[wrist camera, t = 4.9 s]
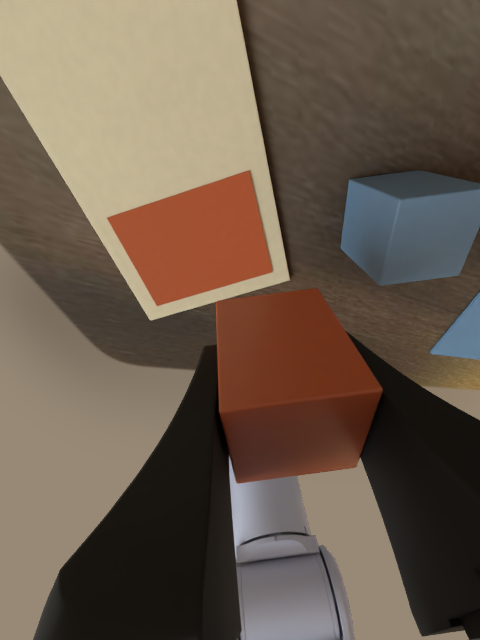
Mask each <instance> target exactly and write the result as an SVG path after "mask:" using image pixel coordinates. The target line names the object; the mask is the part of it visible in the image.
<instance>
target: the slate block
mask: <svg viewBox="0 0 480 640" xmlns="http://www.w3.org/2000/svg"><path fill="white" fill-rule="evenodd" d="M479 227H480V183H475V182H471V181H466V180H462V179H457V178H453V177H448V176H444V175H439V174H435V173H430V172H426V171H421V170H416V171H409V172H401V173H393V174H385V175H377V176H370V177H362V178H354V179H350V180H349V184H348V192H347V200H346V208H345V215H344V223H343V231H342V239H341V247H340V248H341V249H342V250H343V251H344V252H345V253H346V254H347V255H348V256H349V257H350V258H351V259H352V260H353V261H354V262H355V263H356V264H357V265H358V266H359V267H360V268H361V269H362V270H364V271H365V272H366V273H367V274H368V275H369V276H370V277H371V278H372V279H373V280H374V281H375V282H376V283H377V284H378V285H380V286H383V285H390V284H398V283H406V282H413V281H421V280H428V279H436V278H443V277H451V276H458V275H459V274H460V272H461V269H462V267H463V265H464V262H465V260H466V258H467V255H468V253H469V251H470V248H471V246H472V244H473V241H474V239H475V237H476V234H477V232H478V230H479Z"/></svg>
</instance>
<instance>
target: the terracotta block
mask: <svg viewBox="0 0 480 640" xmlns="http://www.w3.org/2000/svg"><path fill="white" fill-rule="evenodd" d="M216 324H217V360H218V395H219V413H220V418H221V422H222V426H223V430H224V435H225V439H226V443H227V447H228V452H229V456H230V460H231V464H232V469H233V473H234V477H235V481H236V483H238V484H240V483H247V482H254V481H261V480H269V479H276V478H283V477H291V476H298V475H305V474H312V473H320V472H327V471H334V470H342V469H349V468H355V467H357V464H358V461H359V458H360V456H361V453H362V450H363V447H364V444H365V441H366V438H367V435H368V433H369V430H370V427H371V424H372V421H373V418H374V415H375V412H376V410H377V407H378V404H379V401H380V398H381V395H382V392H383V390H382V387H381V385H380V384H379V382H378V381H377V379H376V378H375V376H374V375H373V373H372V372H371V370H370V368H369V367H368V365H367V364H366V362H365V361H364V359H363V358H362V356H361V354H360V353H359V351H358V350H357V348H356V347H355V345H354V344H353V342H352V341H351V339H350V337H349V336H348V334H347V333H346V331H345V330H344V328H343V327H342V325H341V324H340V322H339V320H338V319H337V317H336V316H335V314H334V313H333V311H332V310H331V308H330V307H329V305H328V303H327V302H326V300H325V299H324V297H323V296H322V294H321V293H320V291H319V290H318V289H317V288H313V289H305V290H298V291H290V292H282V293H274V294H266V295H258V296H250V297H243V298H235V299H227V300H219V301H217V302H216Z"/></svg>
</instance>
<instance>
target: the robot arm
mask: <svg viewBox="0 0 480 640" xmlns="http://www.w3.org/2000/svg"><path fill="white" fill-rule="evenodd" d="M346 333H347V334H348V336H349V337H350V339H351V341H352V342H353V344H354V345H355V347H356V348H357V350H358V351H359V353H360V354H361V356H362V358H363V359H364V361H365V362H366V364H367V365H368V367H369V368H370V370H371V372H372V373H373V375H374V376H375V378H376V379H377V381H378V382H379V384H380V385H381V387H382V390H383V392H382V395H381V398H380V401H379V404H378V407H377V410H376V412H375V415H374V418H373V421H372V424H371V427H370V430H369V433H368V435H367V438H366V441H365V444H364V447H363V450H362V453H361V456H360V457H361V460H362V462H363V465H364V468H365V471H366V473H367V476H368V479H369V481H370V484H371V487H372V489H373V492H374V495H375V498H376V501H377V503H378V507H379V509H380V512H381V515H382V518H383V521H384V524H385V527H386V530H387V533H388V536H389V539H390V542H391V545H392V548H393V551H394V554H395V558H396V561H397V564H398V568H399V571H400V574H401V577H402V581H403V584H404V587H405V591H406V594H407V598H408V601H409V604H410V608H411V611H412V614H413V616H414V619H415V621H416V624H417V626H418V629H419V631H420V633H421V635H422V636H429V635H435V634H442V633H449V632H456V631H463V630H465V631H466V634H467V636H468V638H469V640H480V420H478V419H476V418H474V417H472V416H471V415H469V414H467V413H465V412H463V411H461V410H460V409H458V408H456V407H454V406H453V405H451V404H449V403H448V402H446V401H444V400H442V399H441V398H439V397H437V396H436V395H434V394H432V393H431V392H429V391H427V390H426V389H424V388H423V387H421V386H420V385H418V384H417V383H415V382H414V381H412V380H411V379H409V378H408V377H406V376H405V375H403V374H402V373H400V372H399V371H397V370H396V369H395V368H393V367H392V366H390V365H389V364H388V363H386V362H385V361H384V360H382V359H381V358H380V357H378V356H377V355H376V354H374V353H373V352H372V351H371V350H369V349H368V348H367V347H365V346H364V345H363V344H362V343H360V342H359V341H358V340H357V339H355V338H354V337H353V336H352V335H350V334H349V333H348V332H346ZM33 640H355V637H354V629H353V621H352V615H351V610H350V606H349V601H348V597H347V594H346V590H345V586H344V583H343V579H342V576H341V573H340V570H339V568H338V565H337V563H336V561H335V558H334V557H333V555H332V554H331V552H329V551H328V550H327V548H326V547H325V546H324V545H320V546H318V543H317V539H316V536H315V535H311V531H310V527H309V523H308V520H307V515H306V511H305V507H304V503H303V499H302V495H301V490H300V487H299V483H298V478H297V476H291V477H283V478H276V479H269V480H261V481H254V482H247V483H240V484H238V483H236V481H235V477H234V473H233V469H232V464H231V460H230V456H229V452H228V447H227V443H226V439H225V435H224V430H223V426H222V422H221V418H220V413H219V395H218V360H217V345H211V346H205V347H204V348H203V350H202V353H201V357H200V360H199V363H198V365H197V368H196V371H195V374H194V376H193V378H192V380H191V383H190V385H189V387H188V390H187V392H186V394H185V396H184V398H183V400H182V402H181V404H180V406H179V408H178V410H177V412H176V414H175V416H174V418H173V419H172V421H171V423H170V425H169V426H168V428H167V430H166V432H165V433H164V435H163V437H162V438H161V440H160V442H159V443H158V445H157V446H156V448H155V449H154V451H153V452H152V454H151V455H150V457H149V458H148V460H147V461H146V463H145V464H144V466H143V467H142V469H141V470H140V472H139V473H138V474H137V476H136V477H135V478H134V480H133V481H132V483H131V484H130V485H129V486H128V488H127V489H126V490H125V492H124V493H123V494H122V496H121V497H120V498H119V499H118V501H117V502H116V503H115V505H114V506H113V507H112V509H111V510H110V511H109V513H108V514H107V515H106V516H105V517H104V519H103V520H102V521H101V522H100V524H99V525H98V526H97V527H96V528H95V529H94V531H93V532H92V533H91V534H90V535H89V536H88V538H87V539H86V540H85V541H84V542H83V543H82V545H81V546H80V547H79V548H78V549H77V551H76V552H75V553H74V554H73V555H72V556H71V558H70V559H69V560H68V561H67V562H66V563H65V564H64V566H63V567H62V568H61V569H60V571H59V574H58V576H57V579H56V581H55V583H54V586H53V588H52V590H51V592H50V595H49V597H48V599H47V602H46V604H45V607H44V610H43V613H42V616H41V618H40V621H39V624H38V627H37V630H36V633H35V636H34V639H33Z"/></svg>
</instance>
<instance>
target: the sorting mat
mask: <svg viewBox="0 0 480 640" xmlns="http://www.w3.org/2000/svg"><path fill="white" fill-rule="evenodd" d="M0 76H1V77H2V79H3V81H4V82H5V84H6V86H7V87H8V89H9V90H10V92H11V94H12V95H13V97H14V99H15V100H16V102H17V103H18V105H19V107H20V108H21V110H22V112H23V113H24V115H25V117H26V118H27V120H28V121H29V123H30V125H31V126H32V128H33V130H34V131H35V133H36V135H37V136H38V138H39V139H40V141H41V143H42V144H43V146H44V148H45V149H46V151H47V152H48V154H49V156H50V157H51V159H52V161H53V162H54V164H55V166H56V167H57V169H58V170H59V172H60V174H61V175H62V177H63V179H64V180H65V182H66V184H67V185H68V187H69V188H70V190H71V192H72V193H73V195H74V197H75V198H76V200H77V201H78V203H79V205H80V206H81V208H82V210H83V211H84V213H85V215H86V216H87V218H88V219H89V221H90V223H91V224H92V226H93V228H94V229H95V231H96V233H97V234H98V236H99V237H100V239H101V241H102V242H103V244H104V246H105V247H106V249H107V250H108V252H109V254H110V255H111V257H112V259H113V260H114V262H115V264H116V265H117V267H118V268H119V270H120V272H121V273H122V275H123V277H124V278H125V280H126V281H127V283H128V285H129V286H130V288H131V290H132V291H133V293H134V295H135V296H136V298H137V299H138V301H139V303H140V304H141V306H142V308H143V309H144V311H145V313H146V314H147V316H148V317H149V319H150V320H154V319H158V318H161V317H165V316H168V315H172V314H175V313H178V312H182V311H185V310H189V309H192V308H196V307H199V306H203V305H206V304H210V303H213V302H216V301H219V300H223V299H227V298H230V297H234V296H237V295H241V294H244V293H247V292H251V291H254V290H258V289H261V288H265V287H268V286H272V285H275V284H279V283H282V282H285V281H289V280H290V278H289V272H288V267H287V262H286V257H285V251H284V246H283V241H282V236H281V230H280V225H279V220H278V215H277V209H276V204H275V199H274V194H273V188H272V183H271V178H270V173H269V167H268V162H267V157H266V151H265V146H264V141H263V136H262V130H261V125H260V120H259V115H258V109H257V104H256V99H255V94H254V88H253V83H252V78H251V73H250V67H249V62H248V57H247V52H246V46H245V41H244V36H243V31H242V25H241V20H240V15H239V10H238V4H237V0H0Z"/></svg>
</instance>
